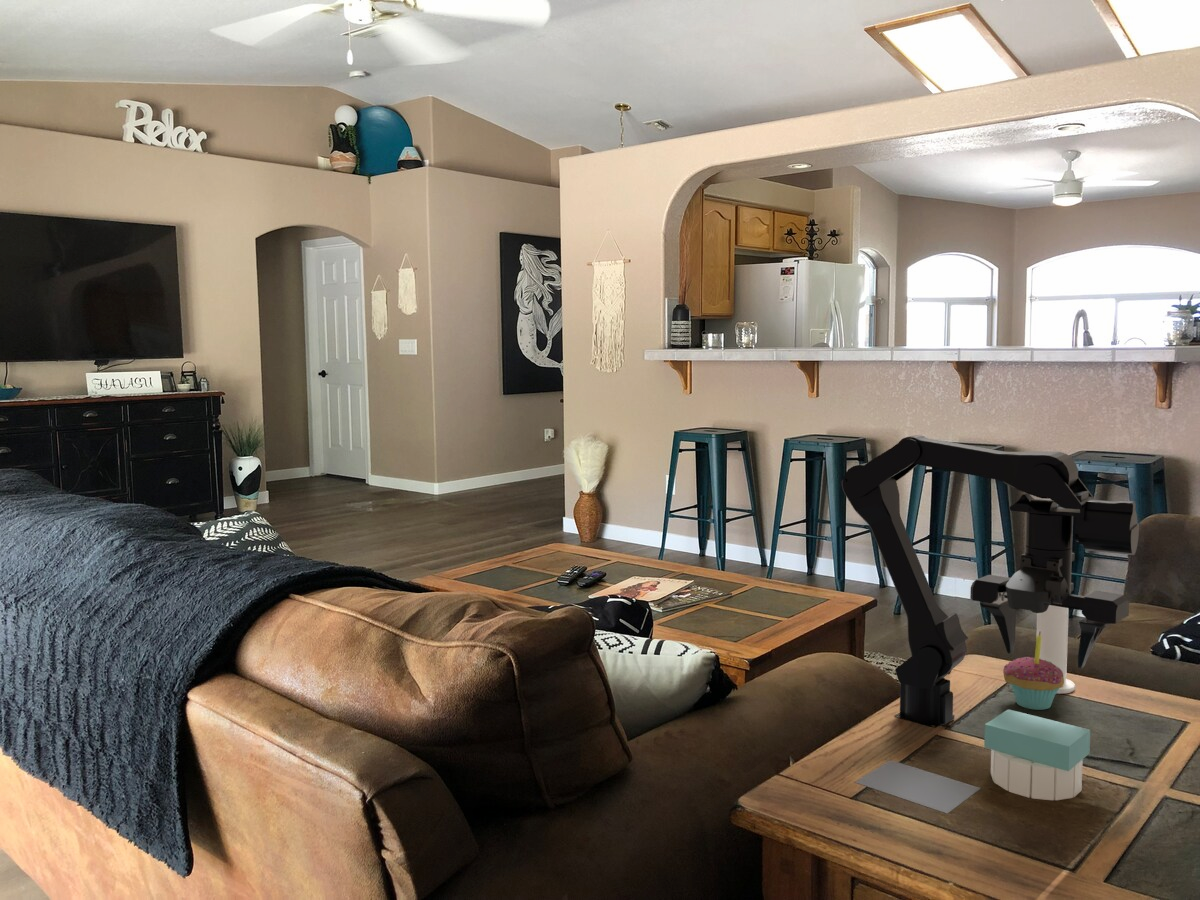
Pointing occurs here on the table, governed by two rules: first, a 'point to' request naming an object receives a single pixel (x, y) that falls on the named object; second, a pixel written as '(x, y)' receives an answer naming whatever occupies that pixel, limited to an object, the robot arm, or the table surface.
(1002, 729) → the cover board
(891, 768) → the mat
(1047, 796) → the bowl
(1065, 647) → the candle
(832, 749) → the table surface
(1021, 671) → the cupcake
